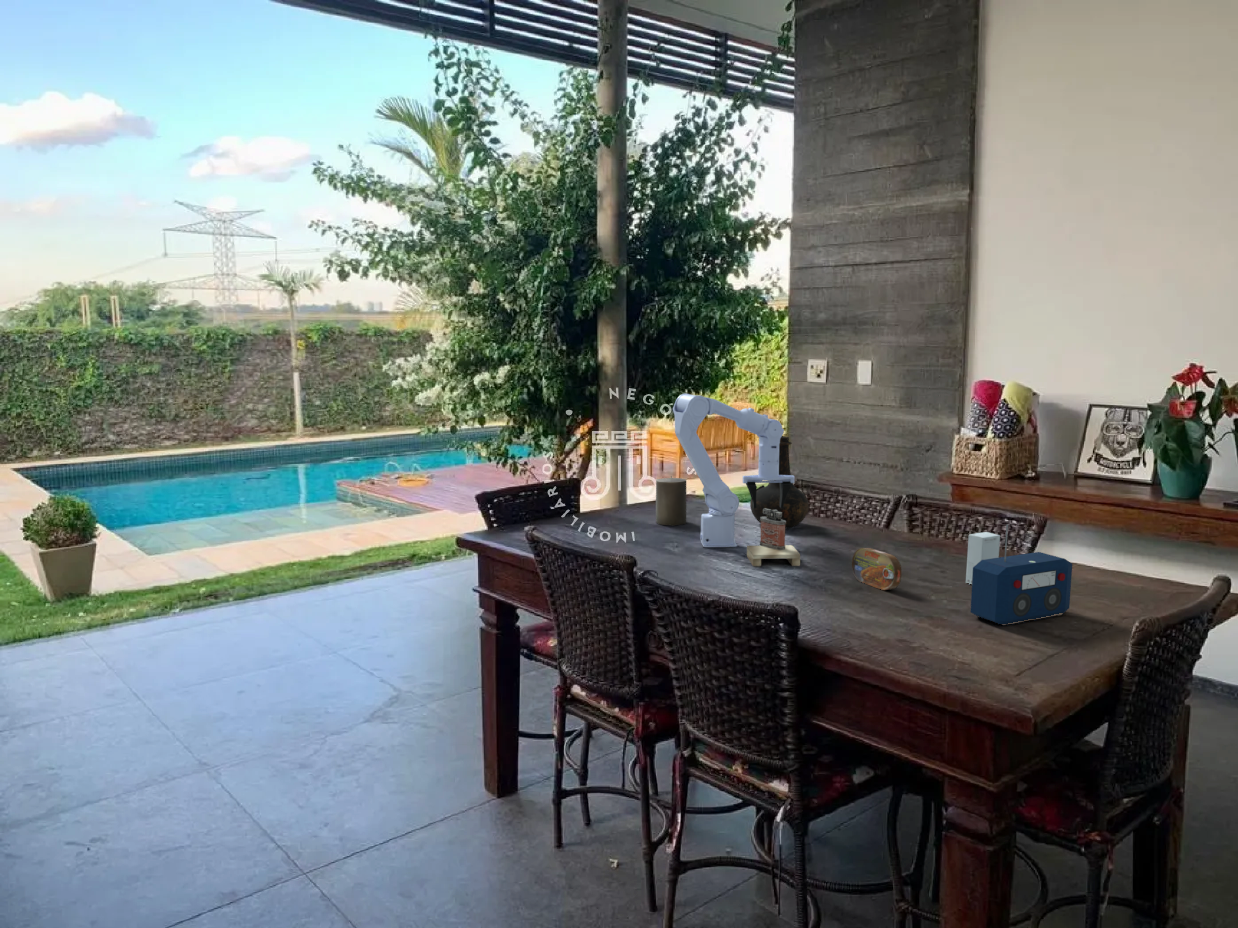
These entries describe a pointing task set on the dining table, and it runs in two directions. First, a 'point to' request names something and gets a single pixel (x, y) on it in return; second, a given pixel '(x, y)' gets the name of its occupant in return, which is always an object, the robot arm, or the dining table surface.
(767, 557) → the shelf stand
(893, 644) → the dining table surface
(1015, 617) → the radio
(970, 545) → the skincare box
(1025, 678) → the dining table surface
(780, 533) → the lighter
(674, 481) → the pillar candle
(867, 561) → the tin
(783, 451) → the dark brown vase
